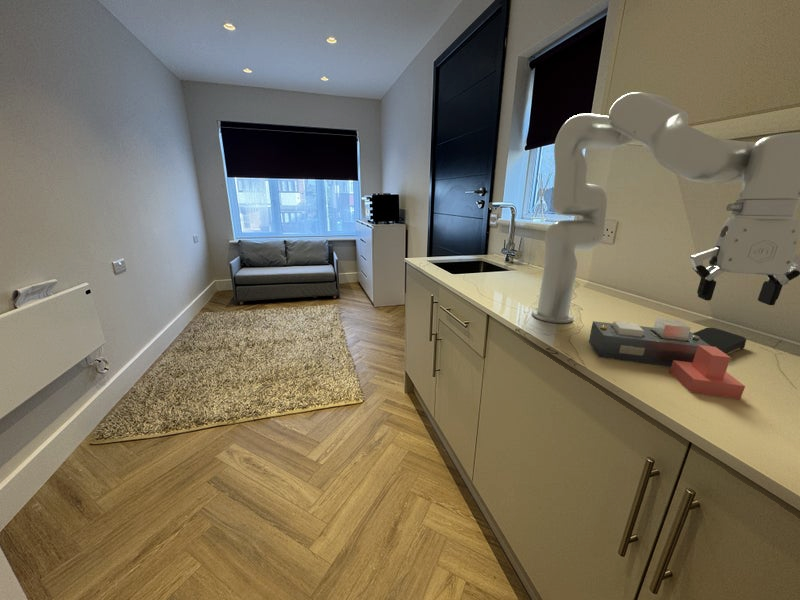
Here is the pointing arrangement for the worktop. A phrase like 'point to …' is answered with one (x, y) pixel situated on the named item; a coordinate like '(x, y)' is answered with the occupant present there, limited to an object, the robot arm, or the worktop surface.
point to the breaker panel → (647, 343)
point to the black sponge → (722, 339)
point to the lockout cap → (708, 374)
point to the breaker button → (627, 329)
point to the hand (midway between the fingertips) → (734, 300)
